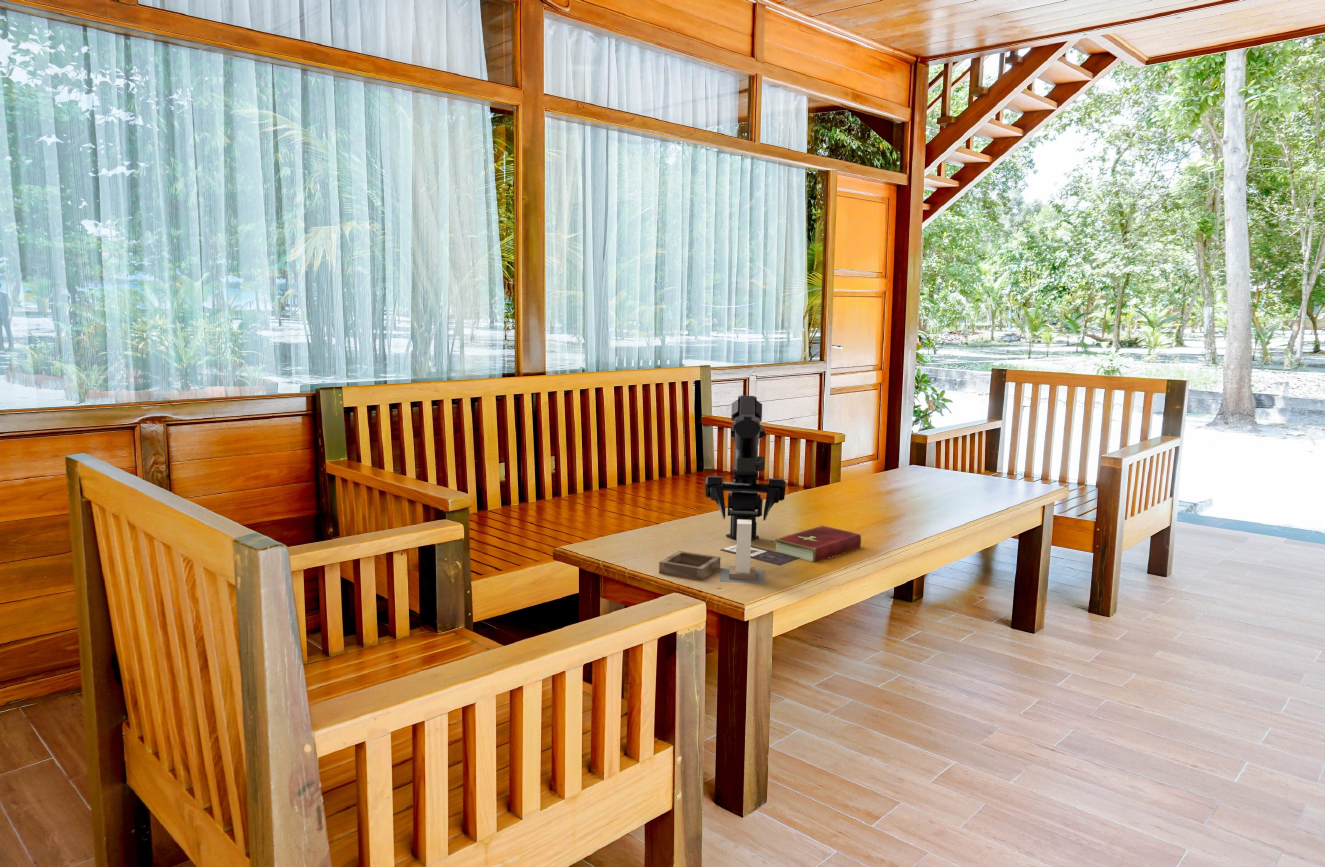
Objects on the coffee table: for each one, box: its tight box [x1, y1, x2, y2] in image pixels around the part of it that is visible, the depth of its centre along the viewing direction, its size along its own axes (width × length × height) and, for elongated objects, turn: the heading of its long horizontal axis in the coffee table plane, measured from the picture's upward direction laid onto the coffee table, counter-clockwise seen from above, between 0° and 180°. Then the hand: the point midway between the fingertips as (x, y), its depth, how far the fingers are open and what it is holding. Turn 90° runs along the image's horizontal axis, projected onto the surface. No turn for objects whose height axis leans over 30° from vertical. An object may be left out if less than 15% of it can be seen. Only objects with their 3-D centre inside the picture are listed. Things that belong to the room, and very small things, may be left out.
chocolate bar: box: [720, 544, 800, 566], centre depth 218 cm, size 9×1×18 cm
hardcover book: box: [773, 525, 862, 563], centre depth 223 cm, size 12×21×4 cm, turn 136°
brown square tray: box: [658, 550, 721, 581], centre depth 203 cm, size 11×11×3 cm
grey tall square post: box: [729, 519, 757, 580], centre depth 199 cm, size 6×6×12 cm
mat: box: [719, 567, 766, 585], centre depth 200 cm, size 10×10×1 cm
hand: (744, 518), depth 204 cm, fingers open, 9 cm apart
